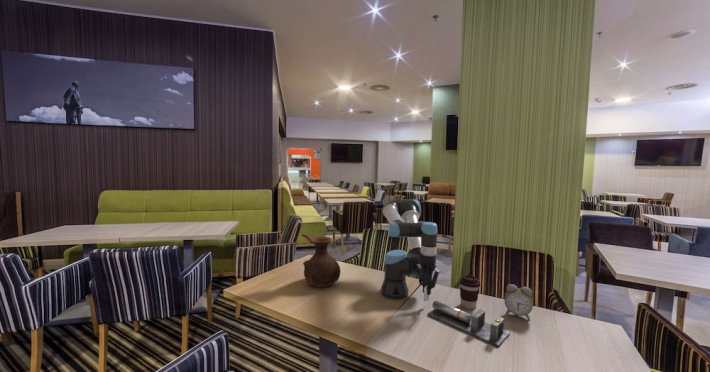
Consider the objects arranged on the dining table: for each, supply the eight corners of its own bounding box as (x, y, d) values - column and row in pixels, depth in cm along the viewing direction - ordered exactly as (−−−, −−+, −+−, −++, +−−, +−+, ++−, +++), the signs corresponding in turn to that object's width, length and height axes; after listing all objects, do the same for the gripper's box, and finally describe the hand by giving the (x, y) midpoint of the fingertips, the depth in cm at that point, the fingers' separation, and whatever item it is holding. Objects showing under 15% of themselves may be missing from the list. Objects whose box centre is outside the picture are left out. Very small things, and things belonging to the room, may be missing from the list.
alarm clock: (503, 315, 139) (505, 285, 138) (503, 309, 145) (505, 280, 144) (531, 322, 133) (534, 290, 132) (530, 315, 139) (533, 285, 138)
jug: (320, 273, 186) (321, 227, 184) (347, 281, 174) (348, 232, 171) (295, 284, 169) (295, 233, 166) (322, 295, 156) (323, 240, 153)
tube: (431, 309, 141) (432, 301, 140) (436, 306, 144) (436, 298, 143) (468, 325, 128) (469, 316, 127) (472, 322, 130) (473, 313, 130)
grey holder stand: (427, 315, 137) (428, 299, 137) (441, 306, 146) (442, 291, 146) (498, 347, 114) (499, 329, 114) (509, 334, 123) (511, 317, 123)
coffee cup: (480, 312, 141) (482, 282, 140) (459, 309, 143) (461, 280, 142) (476, 302, 151) (478, 274, 150) (456, 300, 153) (458, 272, 152)
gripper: (412, 252, 145) (411, 297, 147) (436, 258, 136) (434, 307, 138) (421, 249, 150) (419, 293, 152) (444, 255, 141) (442, 302, 143)
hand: (426, 299), depth 145 cm, fingers closed
